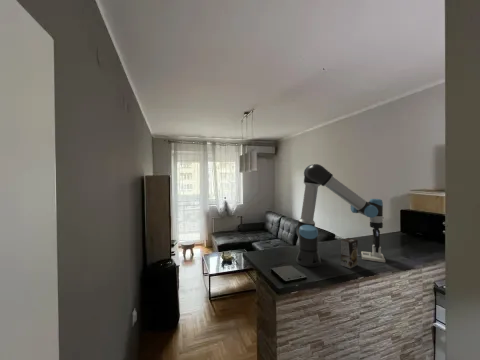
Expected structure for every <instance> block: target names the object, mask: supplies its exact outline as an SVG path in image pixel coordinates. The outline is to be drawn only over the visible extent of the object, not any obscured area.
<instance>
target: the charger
mask: <svg viewBox="0 0 480 360" xmlns="http://www.w3.org/2000/svg"><path fill="white" fill-rule="evenodd" d="M371 246H372V250H371V251H372V252H371V253H372V256H373V257H374V247H373V246H375V245H374V244H372V245H371ZM381 250H382V247H381V246H380V248H379V257H380V258H381V254H382V251H381Z"/></svg>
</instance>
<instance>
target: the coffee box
mask: <svg viewBox="0 0 480 360" xmlns="http://www.w3.org/2000/svg"><path fill="white" fill-rule="evenodd" d="M358 241H359V240H358V239H356V238H349V237H348V238H344V239H342V240H341V241H340V266H342V267H345V268H348V269H353V268H355V267H356V266H358V261H359V259H358V258H359V257H358V254H359V253H358V249H359V248H358V246H359V245H358Z"/></svg>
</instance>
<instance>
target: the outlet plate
mask: <svg viewBox="0 0 480 360" xmlns="http://www.w3.org/2000/svg"><path fill="white" fill-rule="evenodd" d="M360 253H361V255H360V256H361V259H362V260H365V261H372V262H378V263H386V259H385V257H384V254H383V253H381V258H380V257H373V256H372V252H371V251H360Z"/></svg>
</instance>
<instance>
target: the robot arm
mask: <svg viewBox="0 0 480 360" xmlns="http://www.w3.org/2000/svg"><path fill="white" fill-rule="evenodd" d="M303 176H304V177H303V184H304V194H303V201H302V207H301V214H300V215H301V216H300V218H299V219H298V221H297V226H296V227H295V228H296V229H295V233H296V236H297V237H298V241H299V245H298V247H299V248H298V253H297V255H296V263H297V264H298V265H300V266H302V267H307V268H316V267H319V266H321V265H322V264H321V263H322V260H321V257H320V252H319V230H318V228H317V227H316V222H315V221H314V217H315V213H316V212H315V211H316V205H317V204H316V203H317V197H318V190H319V187H320V186H322V187H326V188H327V189H328V190H330V191H332V193H334V195H335V194H336V195H337V196H338V197H339V198H341V199H342V200H343V201H345V202H346V203H348V204H349V205H350V211H351V213H353V214H360V215H363V216H365V217H367V218H369V227H370V228H372V236H373V237H372V240H373V241H372V245H375V246H373V247H374V257H379V248H380V247H381V245H380V242H381V241H380V238H381V237H380V236H381V235H380V233H381V230H380V229H383V227H384V226H383V225H384V224H383V219H384V216H383V215H384V214H383V213H384V212H383V211H384V209H383V208H384V204H383V203H384V202H383V200H382V199H381V198H370V199H369V201H366V200H365V199H364V198H363V197H361V196H360V195H358V194H357V193H356V192H355V191H353V190H352V189H350V188H349V187H348V186H346V185H345V184H343V183H342V182H341V181H340V180H338V179H336V177H334V175H333V173H332V172H330V171H329V170H328V169H327V168H326V167H324V166H323V165H321V164H318V163H315V164H309V165H308V166H306V167H305V169H304V171H303Z"/></svg>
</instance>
